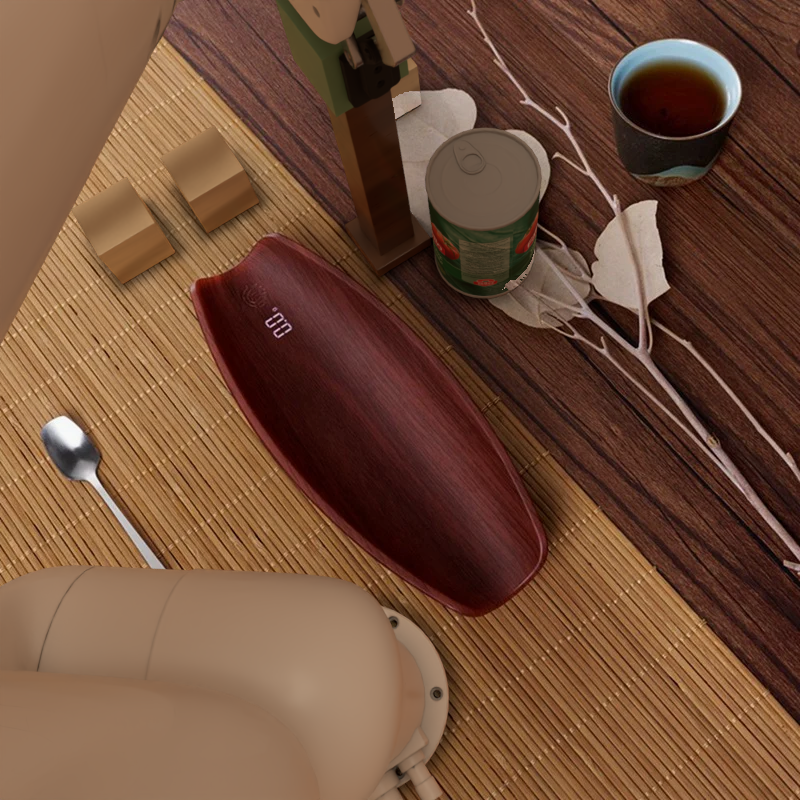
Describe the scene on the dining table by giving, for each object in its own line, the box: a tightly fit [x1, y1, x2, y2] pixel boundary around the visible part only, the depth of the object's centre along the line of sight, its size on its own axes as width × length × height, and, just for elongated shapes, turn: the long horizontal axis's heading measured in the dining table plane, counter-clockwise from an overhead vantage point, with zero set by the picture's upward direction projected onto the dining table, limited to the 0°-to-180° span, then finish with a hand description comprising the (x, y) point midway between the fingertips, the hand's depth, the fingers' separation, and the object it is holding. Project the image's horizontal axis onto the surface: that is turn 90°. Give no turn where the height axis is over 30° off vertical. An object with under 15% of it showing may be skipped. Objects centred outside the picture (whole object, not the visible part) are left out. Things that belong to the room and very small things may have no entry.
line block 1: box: [71, 176, 176, 285], centre depth 74 cm, size 5×5×5 cm
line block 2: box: [159, 124, 260, 234], centre depth 74 cm, size 5×5×5 cm
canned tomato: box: [424, 127, 543, 300], centre depth 67 cm, size 8×8×11 cm
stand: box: [325, 90, 432, 278], centre depth 64 cm, size 5×5×21 cm
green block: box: [275, 0, 409, 117], centre depth 52 cm, size 5×5×5 cm
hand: (348, 56), depth 53 cm, fingers closed on green block, 5 cm apart
